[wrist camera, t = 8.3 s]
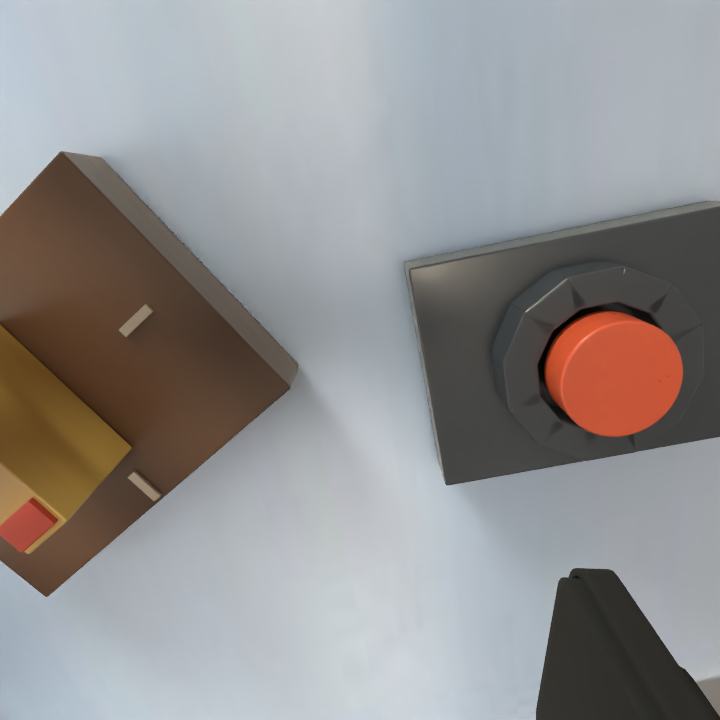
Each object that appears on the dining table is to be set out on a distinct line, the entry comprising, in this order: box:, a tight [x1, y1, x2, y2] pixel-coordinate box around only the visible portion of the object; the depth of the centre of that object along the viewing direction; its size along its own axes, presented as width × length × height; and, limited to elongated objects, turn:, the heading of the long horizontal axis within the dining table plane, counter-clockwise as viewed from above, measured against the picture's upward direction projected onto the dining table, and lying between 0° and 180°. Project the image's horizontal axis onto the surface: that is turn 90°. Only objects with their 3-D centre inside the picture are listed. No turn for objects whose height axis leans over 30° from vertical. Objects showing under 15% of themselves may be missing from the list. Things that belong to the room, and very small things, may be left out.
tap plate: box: [0, 151, 298, 597], centre depth 22 cm, size 14×11×3 cm
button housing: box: [404, 201, 720, 485], centre depth 21 cm, size 12×9×4 cm
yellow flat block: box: [0, 325, 132, 554], centre depth 18 cm, size 6×2×5 cm, turn 41°
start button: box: [544, 311, 683, 437], centre depth 19 cm, size 4×4×2 cm
